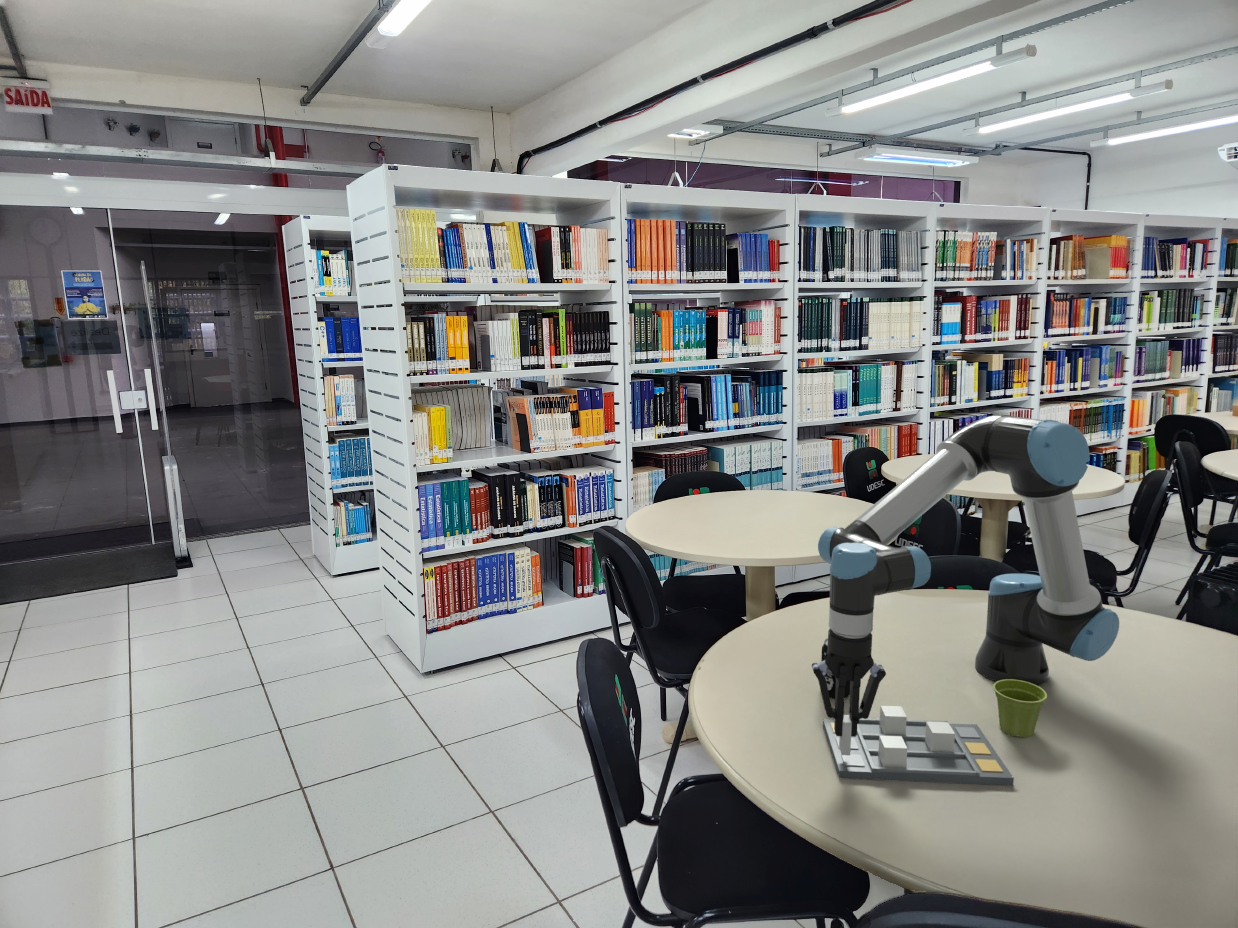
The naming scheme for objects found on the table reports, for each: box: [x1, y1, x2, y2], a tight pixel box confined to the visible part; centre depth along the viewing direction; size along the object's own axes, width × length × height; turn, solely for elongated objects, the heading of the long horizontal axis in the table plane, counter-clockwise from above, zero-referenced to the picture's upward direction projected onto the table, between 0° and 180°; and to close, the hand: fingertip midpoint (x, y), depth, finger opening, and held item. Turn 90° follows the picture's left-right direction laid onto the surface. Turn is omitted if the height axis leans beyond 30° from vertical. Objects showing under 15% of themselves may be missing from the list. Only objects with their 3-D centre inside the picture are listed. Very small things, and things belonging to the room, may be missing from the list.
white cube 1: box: [879, 705, 908, 735], centre depth 150 cm, size 4×4×4 cm
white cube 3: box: [878, 736, 907, 768], centre depth 139 cm, size 4×4×4 cm
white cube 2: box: [925, 721, 955, 752], centre depth 144 cm, size 4×4×4 cm
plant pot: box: [992, 679, 1048, 739], centre depth 152 cm, size 9×9×9 cm
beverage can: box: [820, 637, 850, 700], centre depth 167 cm, size 7×7×12 cm
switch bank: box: [822, 717, 1015, 787], centre depth 145 cm, size 30×18×2 cm, turn 84°
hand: (844, 750), depth 140 cm, fingers closed
